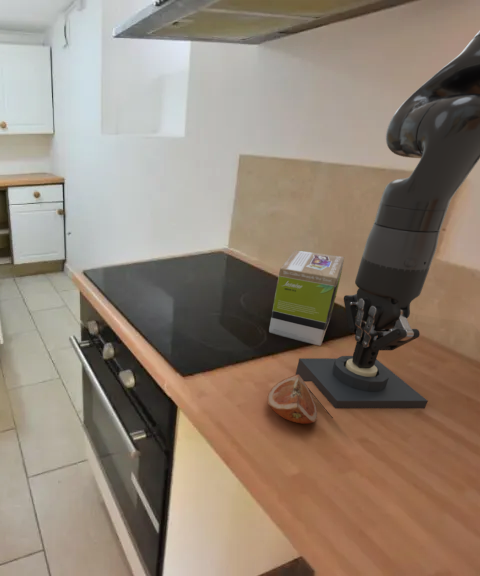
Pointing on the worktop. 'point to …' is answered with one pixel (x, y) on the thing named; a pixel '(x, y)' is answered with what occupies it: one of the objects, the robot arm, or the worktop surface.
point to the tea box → (306, 296)
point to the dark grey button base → (358, 385)
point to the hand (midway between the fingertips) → (361, 365)
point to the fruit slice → (293, 400)
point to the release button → (361, 369)
